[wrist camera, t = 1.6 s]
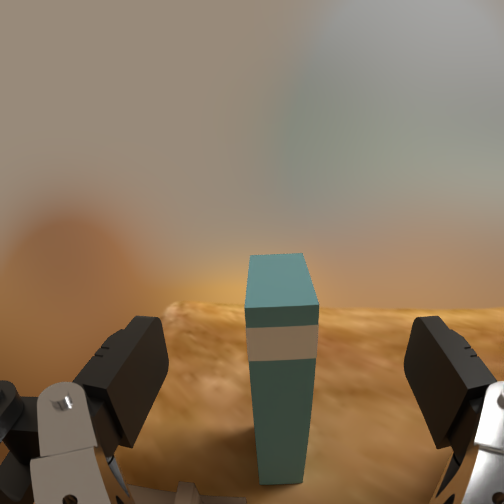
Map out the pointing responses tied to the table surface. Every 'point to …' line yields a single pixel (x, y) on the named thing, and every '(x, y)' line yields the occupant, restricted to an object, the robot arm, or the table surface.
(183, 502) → the book rack
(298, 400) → the book
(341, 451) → the table surface
